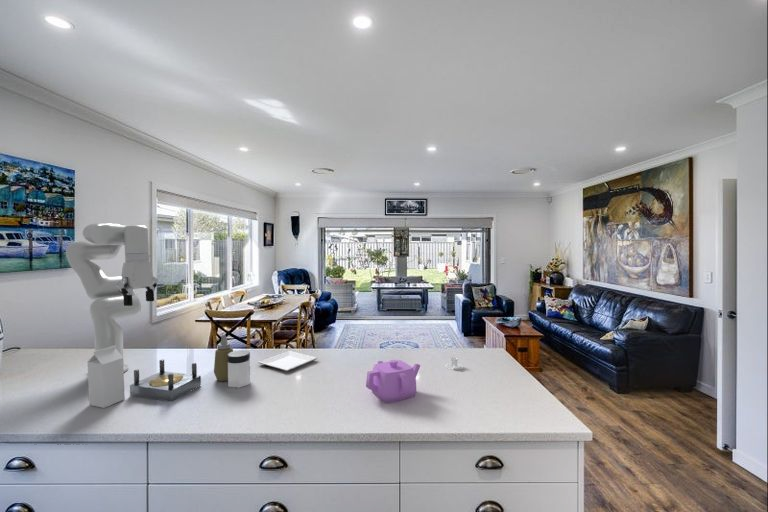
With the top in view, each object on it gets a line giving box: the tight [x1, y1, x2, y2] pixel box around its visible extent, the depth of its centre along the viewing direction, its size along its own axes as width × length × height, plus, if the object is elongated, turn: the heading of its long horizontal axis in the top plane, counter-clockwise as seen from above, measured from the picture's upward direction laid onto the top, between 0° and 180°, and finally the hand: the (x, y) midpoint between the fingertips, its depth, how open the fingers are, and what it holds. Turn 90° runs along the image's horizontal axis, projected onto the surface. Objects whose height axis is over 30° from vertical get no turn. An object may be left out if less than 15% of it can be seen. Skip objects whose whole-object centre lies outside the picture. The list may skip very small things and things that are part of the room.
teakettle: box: [365, 359, 421, 404], centre depth 135 cm, size 17×17×12 cm
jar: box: [227, 349, 251, 389], centre depth 143 cm, size 9×8×12 cm
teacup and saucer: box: [444, 356, 464, 371], centre depth 162 cm, size 9×8×4 cm
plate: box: [257, 350, 318, 372], centre depth 166 cm, size 19×19×2 cm
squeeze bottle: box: [213, 334, 234, 382], centre depth 147 cm, size 8×8×18 cm
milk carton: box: [87, 346, 126, 409], centre depth 126 cm, size 7×7×19 cm
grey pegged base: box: [129, 359, 202, 403], centre depth 136 cm, size 18×14×9 cm
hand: (139, 303), depth 139 cm, fingers open, 9 cm apart
